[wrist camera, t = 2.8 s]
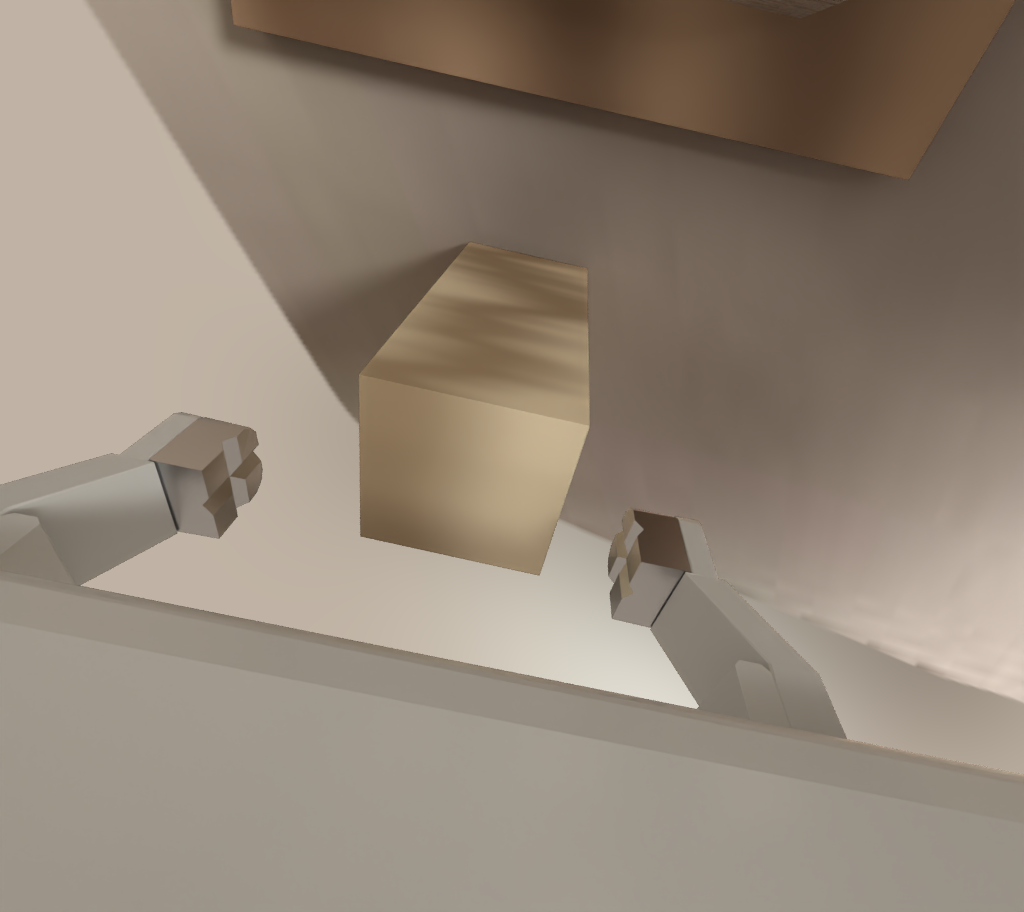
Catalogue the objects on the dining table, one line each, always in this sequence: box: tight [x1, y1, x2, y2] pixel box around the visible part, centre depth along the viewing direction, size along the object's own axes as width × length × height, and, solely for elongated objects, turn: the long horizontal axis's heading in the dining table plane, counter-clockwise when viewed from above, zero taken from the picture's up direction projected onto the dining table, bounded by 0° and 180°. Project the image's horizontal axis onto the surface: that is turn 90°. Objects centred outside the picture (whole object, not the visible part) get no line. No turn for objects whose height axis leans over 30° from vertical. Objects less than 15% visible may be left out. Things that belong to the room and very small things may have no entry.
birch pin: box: [359, 242, 590, 575], centre depth 15 cm, size 4×4×11 cm
